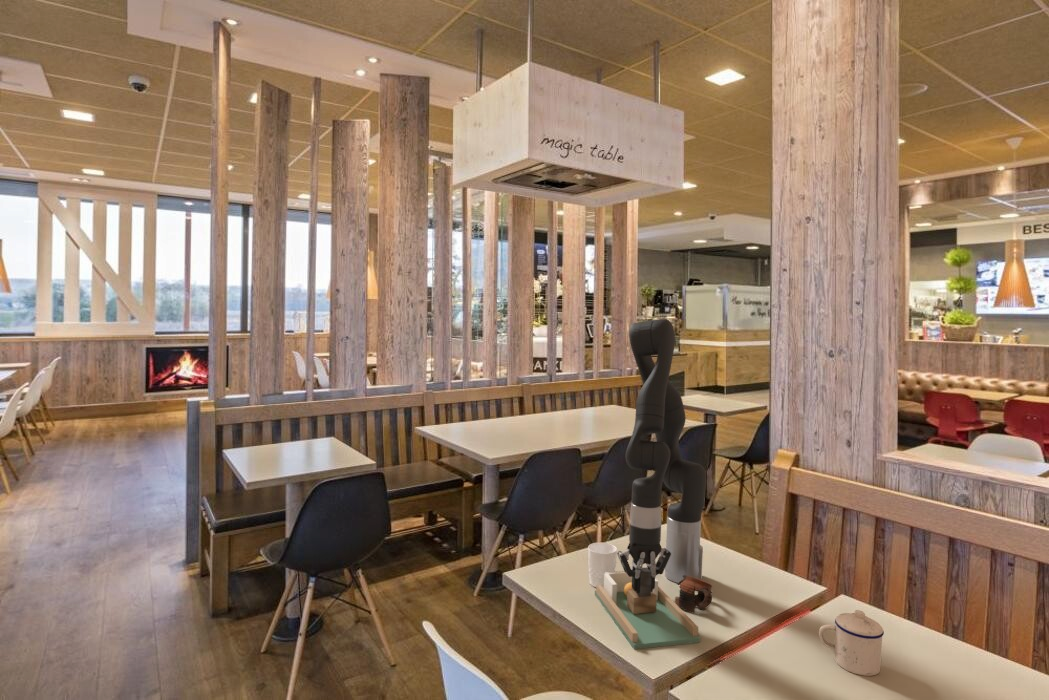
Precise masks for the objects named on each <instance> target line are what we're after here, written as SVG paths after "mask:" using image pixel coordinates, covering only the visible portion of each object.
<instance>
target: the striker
mask: <svg viewBox="0 0 1049 700" xmlns="http://www.w3.org/2000/svg"><path fill="white" fill-rule="evenodd" d="M651 574H652V572H651V571H650V570H649V569H648V568H647V566H646V567H642V570H641V571H640V577H639V578H640V593H636V592H635V591H634V590H628V592H627V607H628V608H629V609H630V610H631V612H632V613H633V614H638V613H649V612H656V606H657V596H656V594H655V593H654V592H651Z"/></svg>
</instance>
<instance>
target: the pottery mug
mask: <svg viewBox="0 0 1049 700" xmlns="http://www.w3.org/2000/svg"><path fill="white" fill-rule="evenodd" d="M683 577H684V578H683V580H681V581H680V582H679V583H677V586H679V596H675V598H674V603H675V604H676V605H677V606H678V607H679V608H680V609H681V610H684V611H688V612H689V613H692V614H694V613H695V611H696V608H697V609H698V610H699V611H705V610H706V608H708V607H709V606H710V604H711V603H712V602H713V601H712V600H713V594H712V593H713V591H712V588H713V585H711V583H709V582H707V581H705V580H703V579H702V580H700V579H697V578H694V577H691V576H687V575H684V576H683ZM695 591H696V592H697V594H696V593H695Z"/></svg>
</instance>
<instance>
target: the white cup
mask: <svg viewBox="0 0 1049 700" xmlns="http://www.w3.org/2000/svg"><path fill="white" fill-rule="evenodd" d="M617 553H618V547H617V546H615V545H613V544H611V543H608V542H593V543H591V544H589V545H588V546H587V559H588V560H587V561H588V564H587V565H588V566H587V567H588V582H589V585H590V586H591V587H594V588H596V585H601V586H602V587H603V588H604V574H605V572H616V569H617V568H616V567H617V556H618V554H617Z"/></svg>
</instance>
